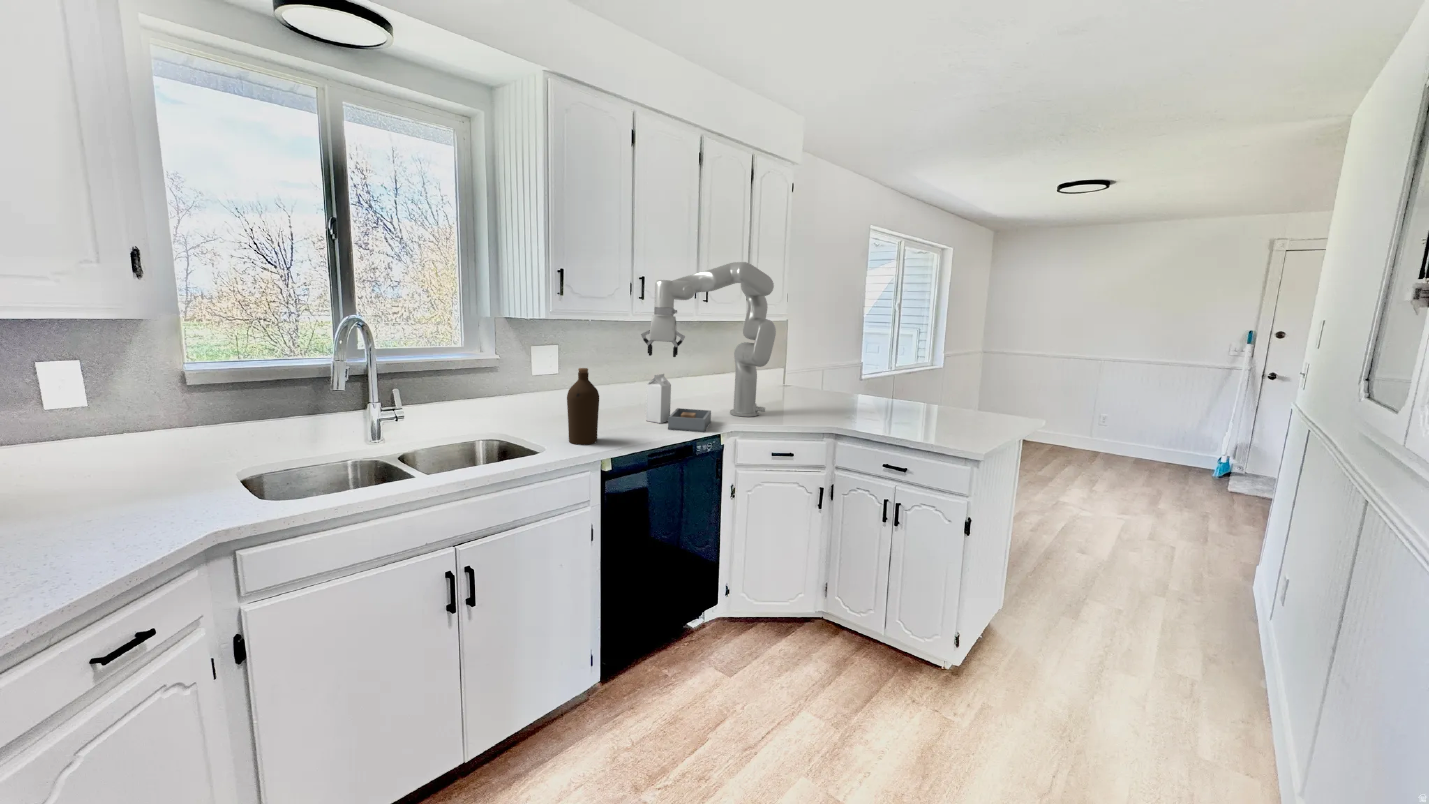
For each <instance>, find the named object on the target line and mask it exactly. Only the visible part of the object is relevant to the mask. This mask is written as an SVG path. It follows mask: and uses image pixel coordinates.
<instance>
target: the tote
mask: <svg viewBox="0 0 1429 804" xmlns="http://www.w3.org/2000/svg"><path fill="white" fill-rule="evenodd" d="M683 412H689V413H696V418H685V417H681V414H682V413H683ZM711 418H712V410H709V409H695V408H679V407H677V408H675V409H674V411H673V412H671V413H670V416H669V417H668V421H667V430H668V431H678V432H680V431H681V432H694V433H705V432H706V431H707V429H708V427H709V426H710V424H711V421H712V419H711Z"/></svg>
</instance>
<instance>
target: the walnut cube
mask: <svg viewBox="0 0 1429 804" xmlns="http://www.w3.org/2000/svg"><path fill="white" fill-rule="evenodd" d="M681 417H685V418H696V413H689V412H683V413H682V414H681Z"/></svg>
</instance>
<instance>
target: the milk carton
mask: <svg viewBox="0 0 1429 804" xmlns="http://www.w3.org/2000/svg"><path fill="white" fill-rule="evenodd" d="M671 396H672V384H671V383H670V381H669V380H668V379H667V378H666V377H665V373H660V374H659V373H658V374H654V375H653V378H652V379H651V380H650V381H649V382H648V383H646V397H645V398H646V400H645V405H646V406H645V408H646V409H645V421H646V422H650V423H658V424H662V423H663V424H664V423H666V422H668V417H669V416H670V415H671V401H672V400H671V399H672V398H671Z"/></svg>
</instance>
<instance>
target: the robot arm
mask: <svg viewBox="0 0 1429 804" xmlns="http://www.w3.org/2000/svg"><path fill="white" fill-rule="evenodd" d="M735 284H740V289H741V291H742V294H744V296H745V298H746V300H747V311H746V316H745V319H744V323H743V328H742V334H743V336H744V338H746V339H747V340H751V341H754V342H745V341H743V342H741V343H739V344H738V345H737V346H736V347H734V348H735V349H734V352H733V356H734V357H733V358H734V365H735V366H734V367H735V368H734V369H735V373H734V374H735V375H734V376H735V377H734V378H735V379H734V392H733V393H734V395H733V408H732V409H729V414H730V415H732V416H736V417H743V418H744V417H756V416H759V412H761V413H763V412H766V407H764V406H758V405H757V403H756V399H757V395H756V394H757V384H758V383H757V382H758V380H757V379H758V371H757V368H762V367H764V366H766V365H767V364H768V363H769V361H770V359H771V355H772V351H773V348H774V343H775V340H776V335H777V329H776V325H775V323H774V322H773V321H772V320H770V319H768V318H767V315H768V314H767V313H768V309H769V308H768V302H767V301H768V300H767V298H766V297H767V296H769V295H771V294H772V293H773V291H774V289H775V288H774V287H775V285H774V284H775V283H774V280H773V279H772V277H770V276H769V274H767V273H765V272H764V271H762V270H760V269H759V268H758V267H756V266H755V265H752V264H751V263H749V262H746V261H737V262H736V261H733V262H729V263H726V264H723V265H720V266H716V267H713V268H711V269H708V270H703V271H699V272H697V273H693V274H689V275H685V276H682V277H679V278H676V279H673V280H669V279H657V280H656V281H655V282H654V306H653V308H654V309H653V310H654V312H653V315H652V316H651V321H650V328H649V330H646V331H644V332H642V333H641V334H640V335H641V338H642V340H643V342H644V343H645V344H646V345H647V354H648V356H649V357H650V356H652V355H653V343H654V342H666V343H672V345H673V347H672V349H673V350H672V357H673V358H676V357H677V356H678V351H679V347H680V345H682V344H683V342H684V340H685V339H686V336H685V335H684V334H683V333H680V332H679V331H677V330H678V329H677V318H676V316H674V315H675V314H678V309H675V308H674V307H675V305H674V304H675V301H677V300H679V301H688V300H691V299H693V298H694V297H695V295H696V294H697V293H709V292H715V291H717V290H720V289H723V288H726V287H728V286H729V287H730V286H733V285H735ZM647 335H649V339H648V338H647ZM677 337H679V338H680V339H679V340H678V342H677Z"/></svg>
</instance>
